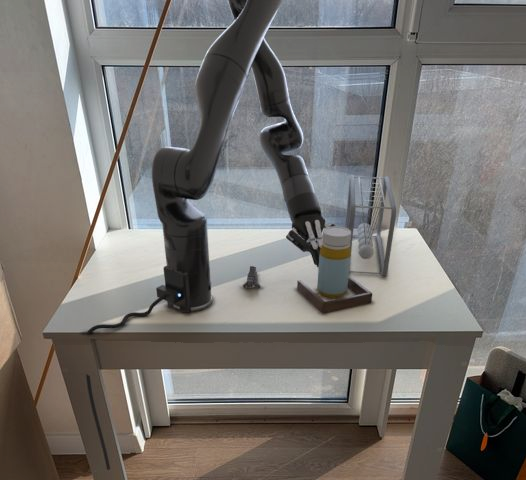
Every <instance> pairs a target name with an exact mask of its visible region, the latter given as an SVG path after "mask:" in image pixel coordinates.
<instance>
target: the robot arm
mask: <svg viewBox="0 0 526 480" xmlns="http://www.w3.org/2000/svg"><path fill="white" fill-rule="evenodd" d="M282 1H283V0H227V3H228V6H229V9H230V12H231V15H232V18H233V22H232V23H231V24H230V25H229V26H228V27H227V28H226V29H225V30H224V31H223V32H222V33H221V34H220V35H219V36H218V37H217V38H216V39H215V41H214V42H213V43H212V44H211V45H210V47H209V48H208V49H207V51H206V53H205V56H204V58H203V60H202V62H201V64H200V67H199V70H198V73H197V76H196V79H195V82H194V83H195V84H194V92H195V99H196V105H197V108H198V109H197V110H198V114H199V120H200V125H199V129H198V133H197V137H196V139H195V142H194V144H193V146H192V148H184V147H177V146H171V145H168V146H162V147H161V148H159V149H158V150H157V151H156V152H155V154H154V156H153V159H152V163H151V182H152V183H151V184H152V189H153V194H154V202H155V208H156V212H157V217H158V220H159V221H160V223H161V226H162V235H163V242H164V243H163V244H164V253H165V262H166V265H165V266H163V277H164V284H161V285H159V286H156V287H155V289H156V297H157V299H156V300H154V301H153V302H152V303H151V304H150V305H149V306H148V307H149V308H148V309H147V310H146V311H144V312H129V313H127V314H126V315H124V316H123V318H122V320H121V321H120V322H118V323H116V324H96V325H93V326H92V327H90V328H89V329H88V330H87V332H86V335H91V334H92V333H94V331H96V330H99V329H118V328H121V327H123V326H124V325H125V324H126V322H127V320H128V319H129V318H131V317H147V316H149V315H150V314H151V313H152V311H153V309H154V308H155V307H156V306H157V305H158V304H159V303H161V302H162V301H163V300H164V301H166V303H167V306H168V307H169V308H173V309H174V310H177V311H180V312H182V313H185V314H190V313H192V312H197V311H201V310H205V309H207V308H209V307H210V306H211V305H212V302H213V296H212V286H213V285H212V281H211V268H210V267H211V266H210V252H209V251H210V249H209V235H208V234H209V233H208V232H209V231H208V230H209V229H208V218H207V215H206V214H205V213H204V212H203V211H202V210H200V209H199V208H197V207H196V206H195V205H194V204H193V203H192V202H191V201H200V200H202V199H204V198H205V197H206V196H207V194H208V193H209V191H210V189H211V187H212V185H213V182H214V180H215V176H216V172H217V169H218V165H219V162H220V158H221V154H222V150H223V147H224V143H225V140H226V136H227V133H228V131H229V128H230V126H231V122H232V119H233V117H234V114H235V111H236V109H237V107H238V104H239V101H240V99H241V97H242V95H243V91H244V89H245V86H246V84H247V81H248V78H249V75H250V73H251V71H252V75H253V79H254V83H255V88H256V92H257V97H258V103H259V107H260V111H261V114H262V115H263V116H264V117H266V118H281V119H284V121H282V122H278V123H274V124H272V125H269V126H265V127H263V129H262V130H261V131H260V133H259V144H260V147H261V149H262V151H263V153H264V154H265V155H266V157H267V158H268V160H269V161H270V163H271V164H272V166H273V168H274V169H275V171H276V174H277V177H278V180H279V183H280V187H281V191H282V196H283V201H284V203H285V205H286V209H287V212H288V215H289V219H290V221H291V229H290V230H289V231H288V232H287V234H286V236H285V238H286V239H287V240H288V241H289V242H290V243H292V245H294V246H295V247H296V248H297V249H299V250H300V251H301V252H303V253H305V252H306V253H307V252H308V253H310V255H311V260H312V261H313V264H314V265H315V266H316V268H319V255H320V249H321V247H322V242H323V231H324V229H325V228H327V227H333V226H336V224H335V223H331V224H329V223H328V222H326V219H325V218H324V216H323V215H322V210H321V209H322V208H321V206H320V204H319V203H320V202H319V200H318V197H317V194H316V191H315V187H314V185H313V183H312V181H311V179H310V175H309V173H308V170H307V166H306V163H305V161H304V159H303V157H302V156H300V155H297V154H287V153H291V152H295V151H297V150H299V149H301V147H302V145H303V144H304V133H303V130H302V128H301V125H300V124H299V122H298V120H297V118H296V116H295V113H294V111H293V108H292V105H291V100H290V94H289V89H288V83H287V77H286V74H285V70H284V68H283V66H282V64H281V62H280V61H279V58H278V56H276V54H275V52H274V51H273V50H272V48H271V46H270V45H269V44H268V42H267V41H266V39H265V36H266V33H267V32H268V30H269V28H270V26H271V24H272V22H273V20H274V18H275V16H276V15H277V13H278V10H279V8H280V5H281V4H282ZM190 200H191V201H190ZM85 379H86V386H87V392H88V399H89V402H90V407H91V411H92V417H93V419H94V423H95V426H96V430H97V434H98V438H99V441H100V445H101V449H102V453H103V457H104V461H105V466H106V467H105V468H106V470H107V471H109V470H111V465H110V461H109V456H108V452H107V447H106V444H105V439H104V435H103V432H102V428H101V425H100V421H99V417H98V413H97V409H96V405H95V400H94V393H93V390H92V389H93V388H92V383H91V376H90V375H89V374H87V373H85Z"/></svg>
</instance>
